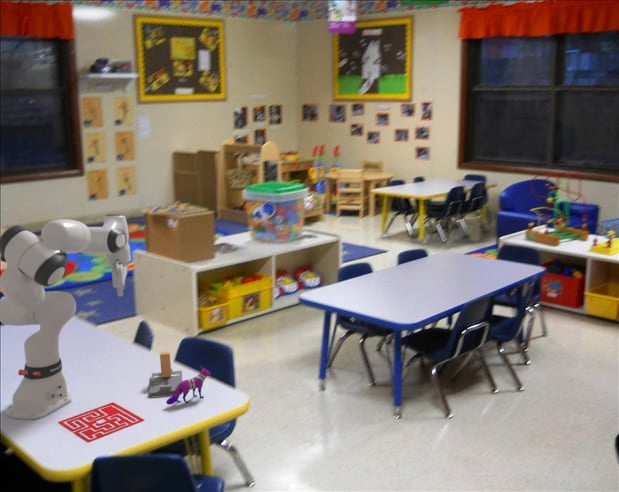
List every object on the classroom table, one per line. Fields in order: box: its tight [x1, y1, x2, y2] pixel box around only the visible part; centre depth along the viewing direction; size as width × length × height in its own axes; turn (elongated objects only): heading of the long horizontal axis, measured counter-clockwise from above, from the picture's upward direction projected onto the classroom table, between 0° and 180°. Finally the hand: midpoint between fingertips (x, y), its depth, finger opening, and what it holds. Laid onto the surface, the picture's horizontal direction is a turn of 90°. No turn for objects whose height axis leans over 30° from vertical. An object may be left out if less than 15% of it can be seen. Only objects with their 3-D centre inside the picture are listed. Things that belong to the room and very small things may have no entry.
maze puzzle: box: [58, 401, 145, 443], centre depth 237 cm, size 20×20×1 cm
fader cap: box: [159, 349, 172, 378], centre depth 267 cm, size 4×4×9 cm
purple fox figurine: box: [165, 365, 212, 405], centre depth 250 cm, size 4×18×10 cm, turn 130°
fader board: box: [149, 367, 183, 398], centre depth 264 cm, size 18×11×3 cm, turn 9°
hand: (121, 292), depth 272 cm, fingers open, 8 cm apart
